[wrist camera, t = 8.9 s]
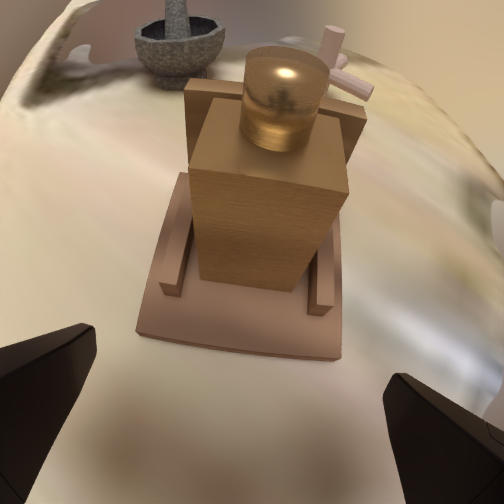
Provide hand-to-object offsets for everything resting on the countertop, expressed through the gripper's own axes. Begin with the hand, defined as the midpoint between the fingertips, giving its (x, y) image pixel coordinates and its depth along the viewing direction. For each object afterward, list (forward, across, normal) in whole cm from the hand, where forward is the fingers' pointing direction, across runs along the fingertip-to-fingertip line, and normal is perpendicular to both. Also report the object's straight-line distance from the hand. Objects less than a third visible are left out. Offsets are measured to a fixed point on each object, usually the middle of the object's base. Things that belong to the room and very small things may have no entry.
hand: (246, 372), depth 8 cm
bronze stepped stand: (+13, 0, +1) cm, 13 cm away
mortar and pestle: (+29, +11, -15) cm, 35 cm away
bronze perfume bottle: (+12, 0, 0) cm, 12 cm away
